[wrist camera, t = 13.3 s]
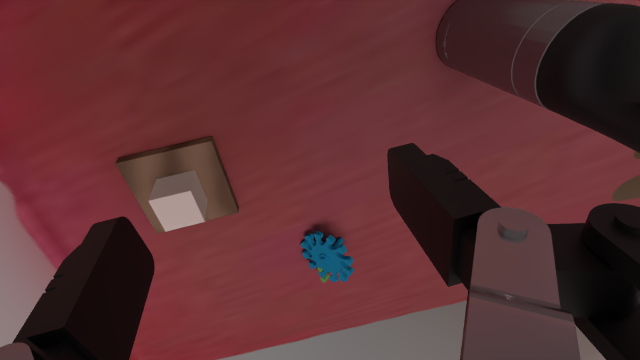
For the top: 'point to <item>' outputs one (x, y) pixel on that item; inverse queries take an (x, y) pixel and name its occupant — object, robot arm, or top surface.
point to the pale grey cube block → (179, 200)
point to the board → (176, 160)
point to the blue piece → (327, 257)
